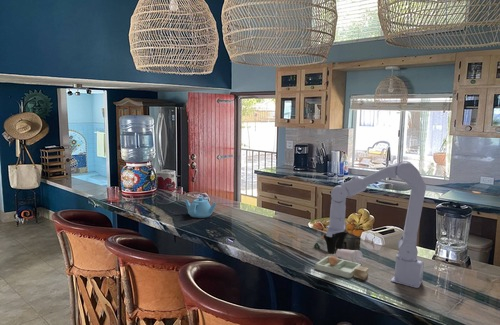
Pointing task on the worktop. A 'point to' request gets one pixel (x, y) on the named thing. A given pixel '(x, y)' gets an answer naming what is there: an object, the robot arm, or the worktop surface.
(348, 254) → the smoothie
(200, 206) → the teapot
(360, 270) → the maple block
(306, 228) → the worktop surface
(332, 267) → the tray
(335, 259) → the terracotta ball
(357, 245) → the juice carton
